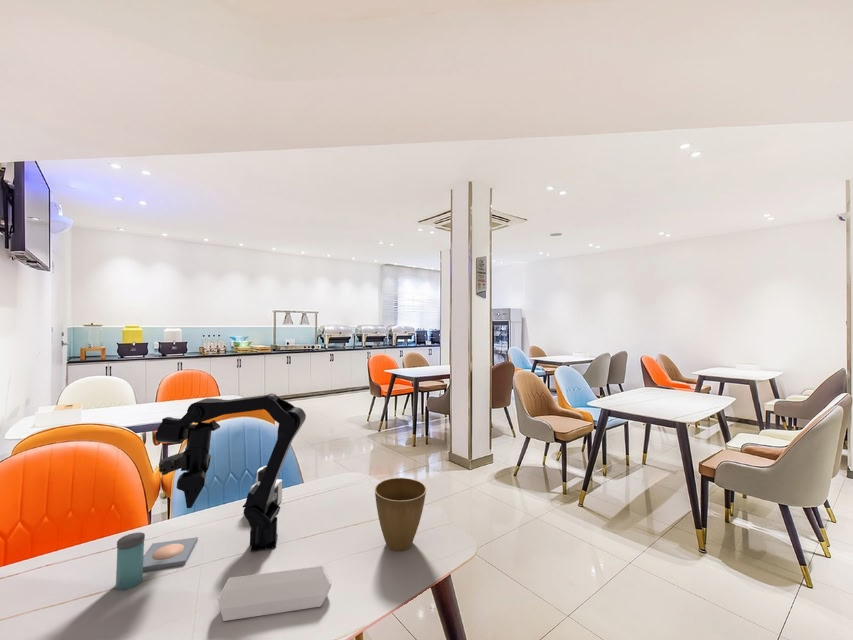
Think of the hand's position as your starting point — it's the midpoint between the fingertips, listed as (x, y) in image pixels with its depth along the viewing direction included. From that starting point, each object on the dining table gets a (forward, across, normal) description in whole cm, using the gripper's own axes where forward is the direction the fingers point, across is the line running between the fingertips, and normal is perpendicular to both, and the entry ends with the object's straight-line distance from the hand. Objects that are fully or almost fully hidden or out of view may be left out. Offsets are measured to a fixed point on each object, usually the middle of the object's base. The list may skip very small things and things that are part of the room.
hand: (191, 500), depth 102 cm
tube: (+13, +12, -10) cm, 20 cm away
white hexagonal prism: (+11, +33, +21) cm, 41 cm away
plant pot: (+8, +24, +55) cm, 60 cm away
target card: (+13, +3, -4) cm, 14 cm away
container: (+12, -16, +21) cm, 29 cm away
